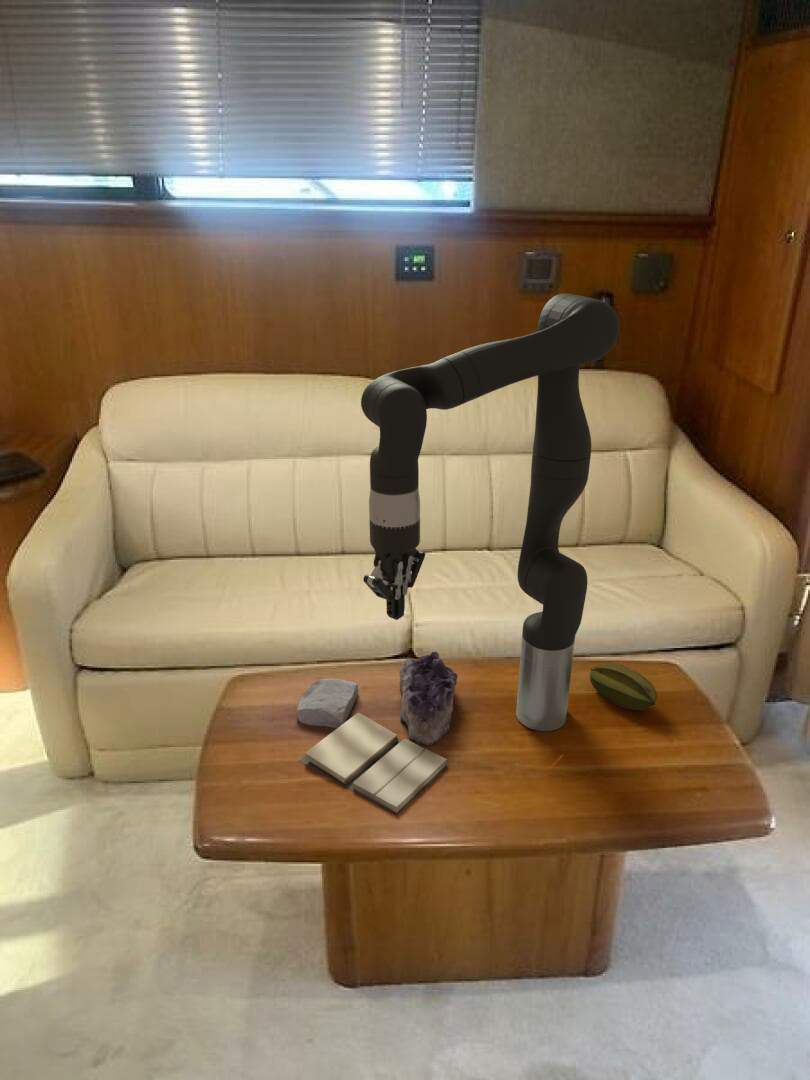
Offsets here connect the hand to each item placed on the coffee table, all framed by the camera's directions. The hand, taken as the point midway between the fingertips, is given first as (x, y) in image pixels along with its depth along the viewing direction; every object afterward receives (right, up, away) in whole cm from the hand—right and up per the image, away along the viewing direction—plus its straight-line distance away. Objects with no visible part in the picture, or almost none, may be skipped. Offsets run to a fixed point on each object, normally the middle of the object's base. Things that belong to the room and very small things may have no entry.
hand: (395, 616), depth 123 cm
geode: (+6, -21, +24) cm, 32 cm away
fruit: (+43, -19, +28) cm, 55 cm away
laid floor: (-4, -26, +11) cm, 29 cm away
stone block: (-13, -20, +25) cm, 35 cm away
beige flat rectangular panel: (-8, -24, +13) cm, 29 cm away
